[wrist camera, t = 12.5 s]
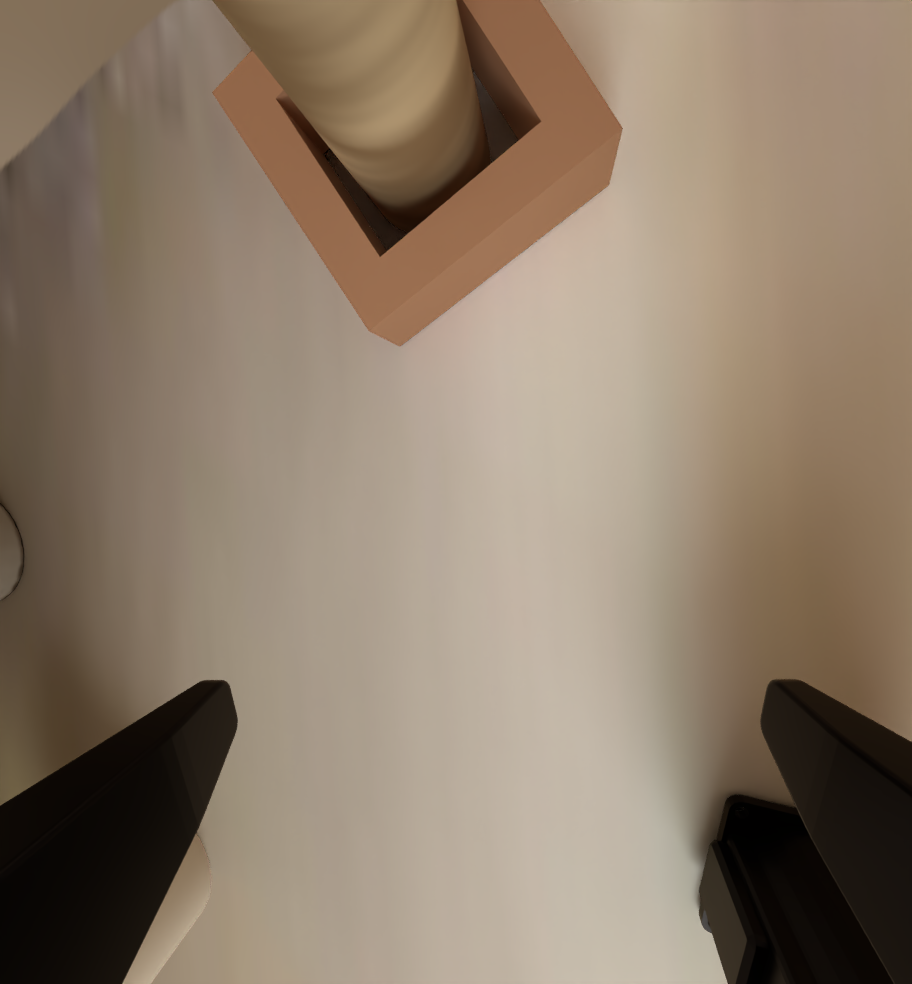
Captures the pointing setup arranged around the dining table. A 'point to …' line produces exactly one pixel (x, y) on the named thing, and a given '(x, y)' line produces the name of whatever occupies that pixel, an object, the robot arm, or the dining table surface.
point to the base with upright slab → (174, 915)
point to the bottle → (9, 554)
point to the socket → (473, 209)
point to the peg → (378, 91)
